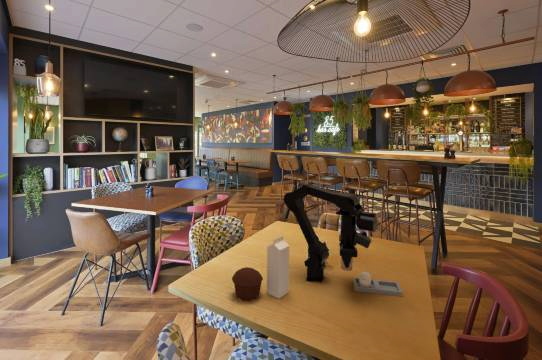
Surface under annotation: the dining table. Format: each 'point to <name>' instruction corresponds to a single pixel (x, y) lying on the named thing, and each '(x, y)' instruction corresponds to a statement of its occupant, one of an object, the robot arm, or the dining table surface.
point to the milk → (278, 268)
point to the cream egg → (365, 280)
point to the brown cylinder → (349, 265)
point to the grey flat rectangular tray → (379, 287)
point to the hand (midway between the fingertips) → (346, 265)
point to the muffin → (247, 283)
